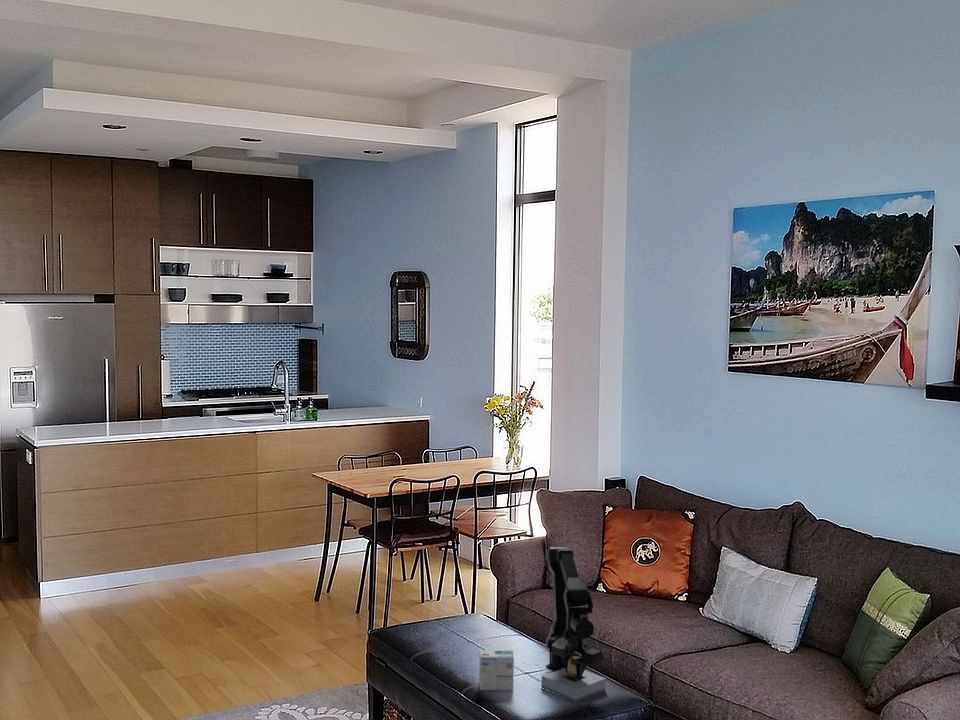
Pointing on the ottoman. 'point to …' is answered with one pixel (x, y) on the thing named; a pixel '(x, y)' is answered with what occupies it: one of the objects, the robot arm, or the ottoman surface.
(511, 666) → the light bulb box
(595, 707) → the ottoman surface
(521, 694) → the ottoman surface
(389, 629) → the ottoman surface
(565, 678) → the bore block
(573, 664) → the peg
